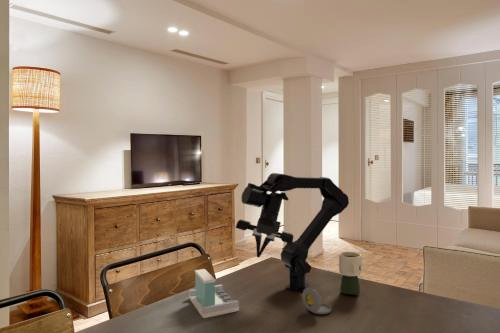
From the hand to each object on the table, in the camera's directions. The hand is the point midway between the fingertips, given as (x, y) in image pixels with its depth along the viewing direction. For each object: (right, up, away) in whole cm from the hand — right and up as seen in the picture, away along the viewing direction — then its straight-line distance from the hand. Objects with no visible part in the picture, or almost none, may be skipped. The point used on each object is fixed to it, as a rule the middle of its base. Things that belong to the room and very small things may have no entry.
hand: (258, 257), depth 118 cm
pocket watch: (+17, -13, -11) cm, 24 cm away
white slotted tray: (-14, -13, -6) cm, 20 cm away
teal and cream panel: (-16, -12, -7) cm, 21 cm away
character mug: (+30, -13, +2) cm, 33 cm away
